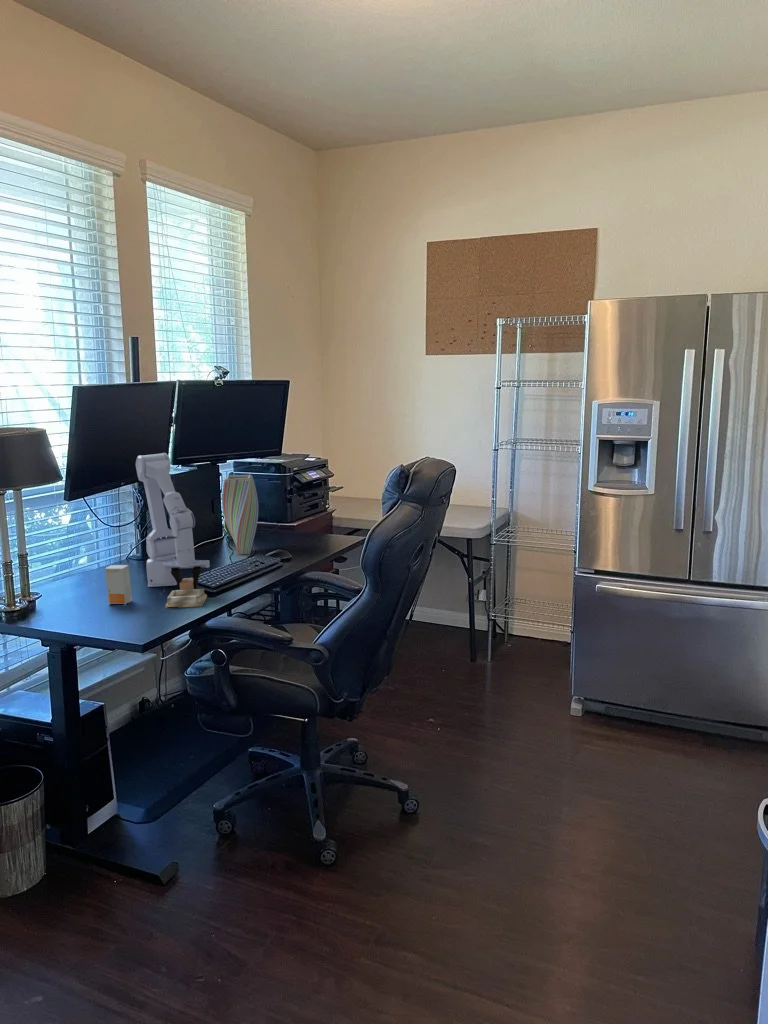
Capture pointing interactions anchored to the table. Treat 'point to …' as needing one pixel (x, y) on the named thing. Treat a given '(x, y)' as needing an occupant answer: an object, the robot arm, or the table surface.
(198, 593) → the stand
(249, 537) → the vase
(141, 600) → the table surface
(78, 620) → the table surface
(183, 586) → the keyed block
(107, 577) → the skincare box
